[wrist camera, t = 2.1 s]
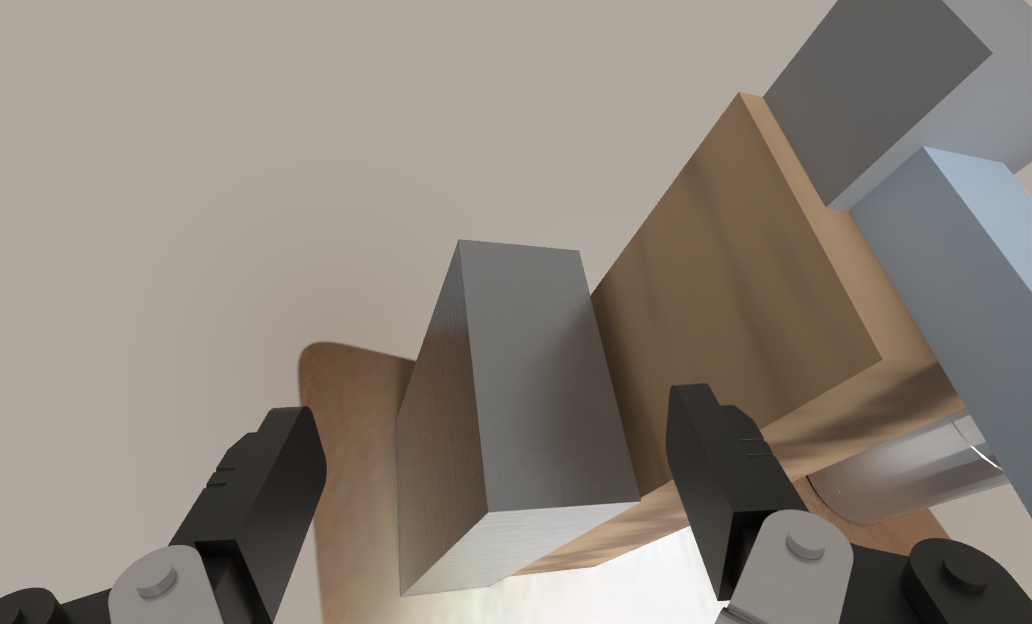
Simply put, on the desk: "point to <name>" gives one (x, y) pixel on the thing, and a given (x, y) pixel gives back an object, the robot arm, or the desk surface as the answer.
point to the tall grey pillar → (506, 422)
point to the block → (934, 181)
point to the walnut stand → (752, 326)
